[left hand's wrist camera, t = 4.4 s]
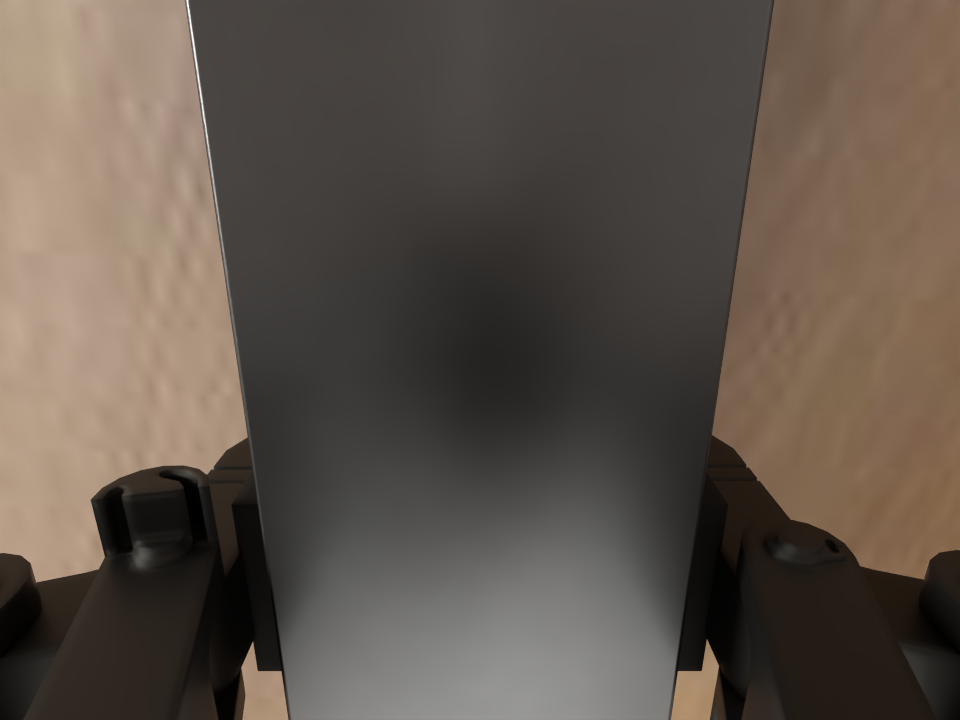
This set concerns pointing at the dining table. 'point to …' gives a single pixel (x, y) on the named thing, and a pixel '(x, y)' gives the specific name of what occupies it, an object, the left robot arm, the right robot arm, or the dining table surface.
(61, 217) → the dining table surface
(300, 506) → the bar
